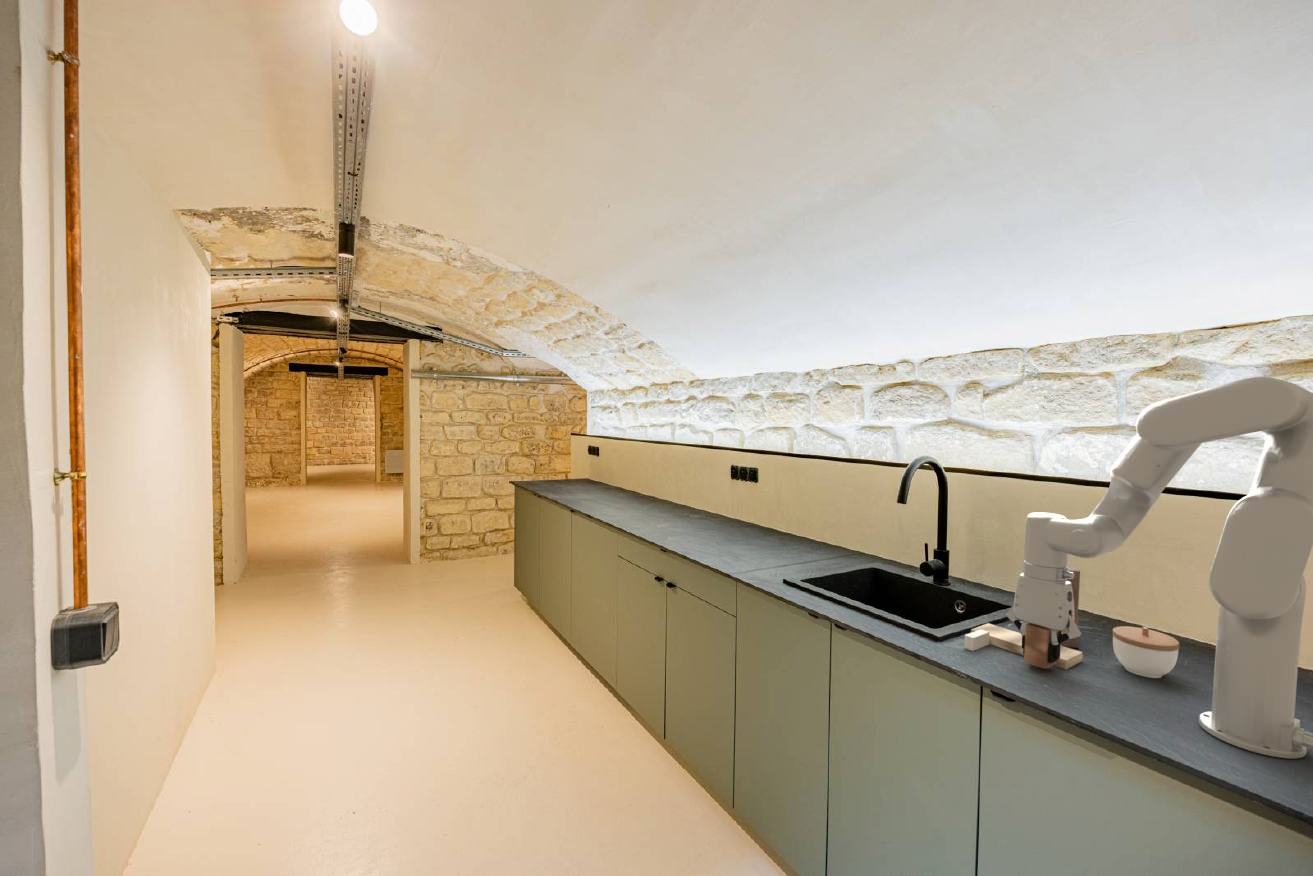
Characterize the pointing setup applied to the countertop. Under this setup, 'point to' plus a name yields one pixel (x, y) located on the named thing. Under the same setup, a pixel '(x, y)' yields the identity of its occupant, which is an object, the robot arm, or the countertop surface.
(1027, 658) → the upright brown wood block
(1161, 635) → the lidded jar
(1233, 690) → the robot arm
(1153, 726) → the countertop surface
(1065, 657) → the oak board
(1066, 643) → the wooden block
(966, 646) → the end stop
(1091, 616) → the countertop surface
